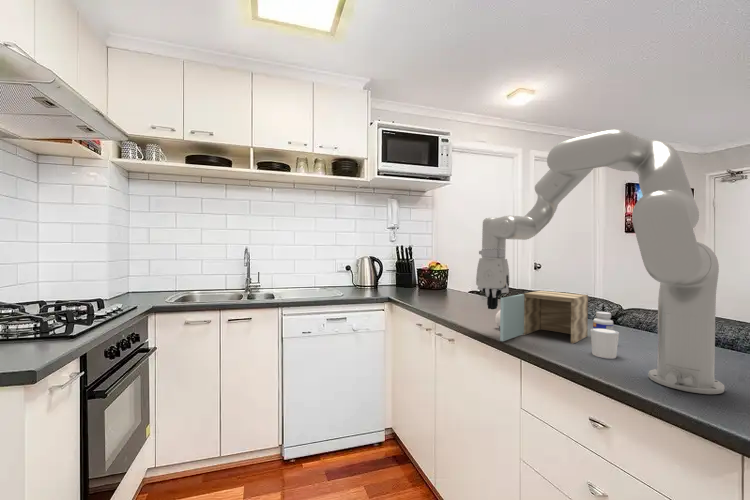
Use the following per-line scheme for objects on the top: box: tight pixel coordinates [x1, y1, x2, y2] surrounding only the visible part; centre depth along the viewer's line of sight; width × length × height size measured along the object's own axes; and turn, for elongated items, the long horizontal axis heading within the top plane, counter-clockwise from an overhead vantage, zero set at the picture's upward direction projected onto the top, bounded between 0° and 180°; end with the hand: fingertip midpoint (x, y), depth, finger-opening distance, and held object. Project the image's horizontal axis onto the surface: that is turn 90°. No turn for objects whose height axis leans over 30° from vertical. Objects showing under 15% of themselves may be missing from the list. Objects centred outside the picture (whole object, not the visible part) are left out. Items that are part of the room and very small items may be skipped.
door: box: [498, 293, 524, 342], centre depth 117 cm, size 2×15×14 cm, turn 133°
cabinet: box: [522, 290, 589, 344], centre depth 121 cm, size 14×16×14 cm
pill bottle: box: [592, 311, 614, 330], centre depth 112 cm, size 5×5×10 cm
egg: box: [494, 309, 500, 328], centre depth 130 cm, size 6×6×8 cm
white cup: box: [589, 327, 620, 360], centre depth 99 cm, size 7×7×7 cm
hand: (492, 308), depth 119 cm, fingers closed
